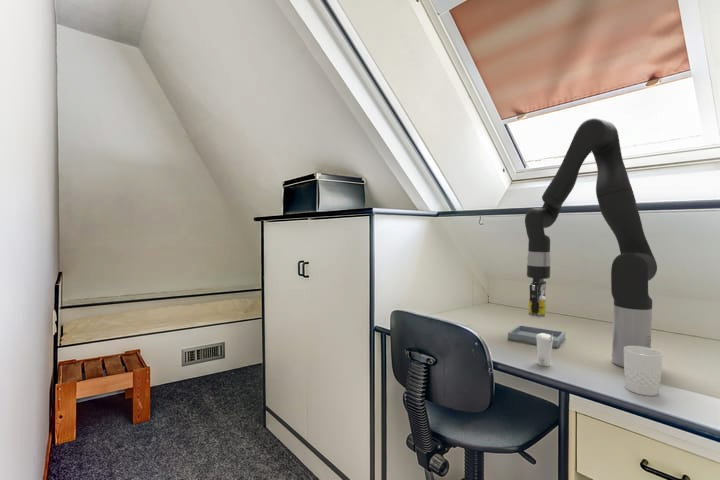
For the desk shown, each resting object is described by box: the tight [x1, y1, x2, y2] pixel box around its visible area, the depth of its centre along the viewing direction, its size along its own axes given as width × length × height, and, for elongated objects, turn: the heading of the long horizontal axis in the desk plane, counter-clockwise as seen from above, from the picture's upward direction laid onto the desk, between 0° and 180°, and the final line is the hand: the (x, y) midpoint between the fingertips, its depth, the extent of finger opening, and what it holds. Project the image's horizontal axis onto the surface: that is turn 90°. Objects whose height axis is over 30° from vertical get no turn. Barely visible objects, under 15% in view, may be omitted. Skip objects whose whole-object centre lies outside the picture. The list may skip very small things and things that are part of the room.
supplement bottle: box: [528, 290, 547, 319], centre depth 138 cm, size 5×5×10 cm
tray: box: [507, 324, 566, 349], centre depth 139 cm, size 16×14×2 cm
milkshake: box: [536, 333, 553, 367], centre depth 113 cm, size 5×5×10 cm
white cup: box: [623, 346, 664, 397], centre depth 96 cm, size 8×8×10 cm
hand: (537, 311), depth 138 cm, fingers closed on supplement bottle, 5 cm apart
